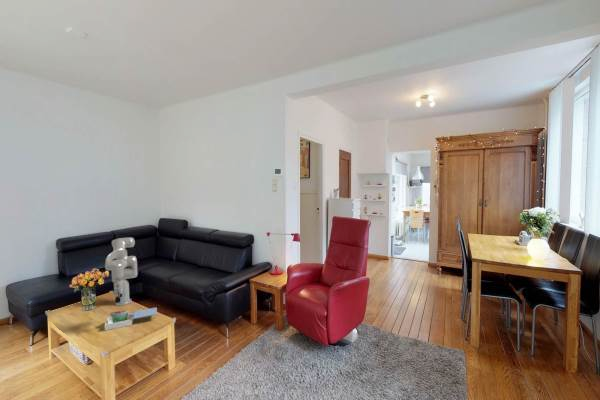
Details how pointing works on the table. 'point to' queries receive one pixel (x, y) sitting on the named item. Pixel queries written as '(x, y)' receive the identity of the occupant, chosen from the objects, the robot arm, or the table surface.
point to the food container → (119, 316)
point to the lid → (144, 313)
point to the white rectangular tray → (118, 323)
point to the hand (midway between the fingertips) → (118, 299)
